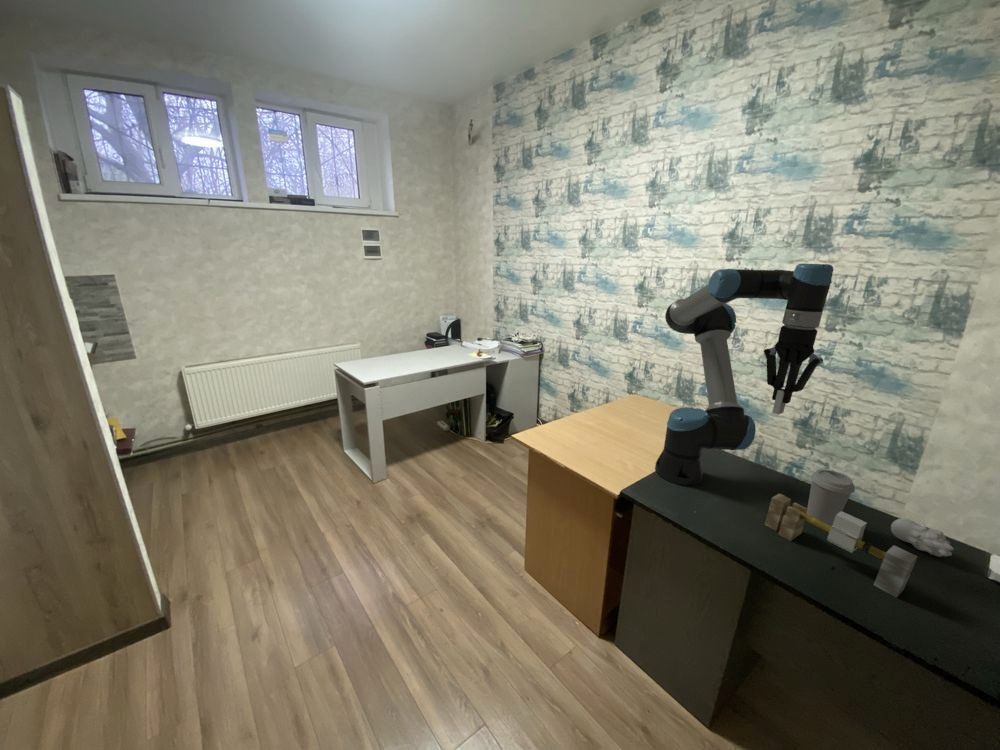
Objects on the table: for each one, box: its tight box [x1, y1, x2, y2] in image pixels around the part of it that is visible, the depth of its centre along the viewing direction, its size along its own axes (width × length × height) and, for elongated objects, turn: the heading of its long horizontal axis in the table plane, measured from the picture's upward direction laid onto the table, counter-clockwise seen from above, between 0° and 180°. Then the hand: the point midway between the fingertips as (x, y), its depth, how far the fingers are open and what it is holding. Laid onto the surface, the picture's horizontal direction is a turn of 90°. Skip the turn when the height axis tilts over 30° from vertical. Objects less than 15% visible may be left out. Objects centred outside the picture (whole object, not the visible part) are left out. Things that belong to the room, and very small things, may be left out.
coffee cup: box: [806, 468, 856, 529], centre depth 109 cm, size 10×10×15 cm
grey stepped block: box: [826, 510, 868, 554], centre depth 95 cm, size 5×4×7 cm
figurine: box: [890, 518, 954, 558], centre depth 102 cm, size 7×7×12 cm
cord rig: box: [764, 493, 918, 599], centre depth 98 cm, size 28×6×10 cm, turn 30°
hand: (777, 412), depth 105 cm, fingers closed
